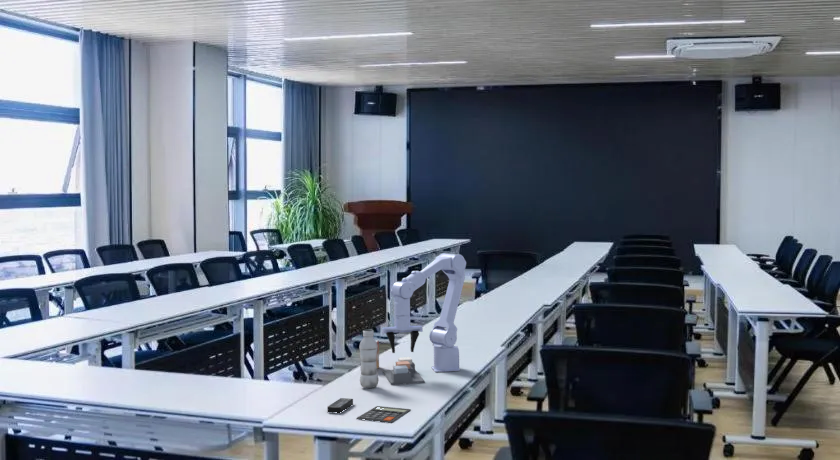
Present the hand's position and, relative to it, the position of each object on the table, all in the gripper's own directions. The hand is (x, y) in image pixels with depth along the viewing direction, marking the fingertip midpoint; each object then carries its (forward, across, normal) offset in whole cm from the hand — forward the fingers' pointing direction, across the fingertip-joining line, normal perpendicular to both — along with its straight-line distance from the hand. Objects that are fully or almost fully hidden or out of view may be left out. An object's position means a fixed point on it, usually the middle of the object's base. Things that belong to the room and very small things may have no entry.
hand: (402, 352), depth 305 cm
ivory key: (+6, -2, -7) cm, 10 cm away
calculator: (+10, +14, +47) cm, 50 cm away
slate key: (+6, +2, +7) cm, 10 cm away
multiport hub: (+10, +26, +37) cm, 46 cm away
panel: (+9, 0, 0) cm, 9 cm away
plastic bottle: (+10, +14, +12) cm, 21 cm away
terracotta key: (+6, 0, 0) cm, 6 cm away
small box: (+10, +10, -17) cm, 22 cm away
